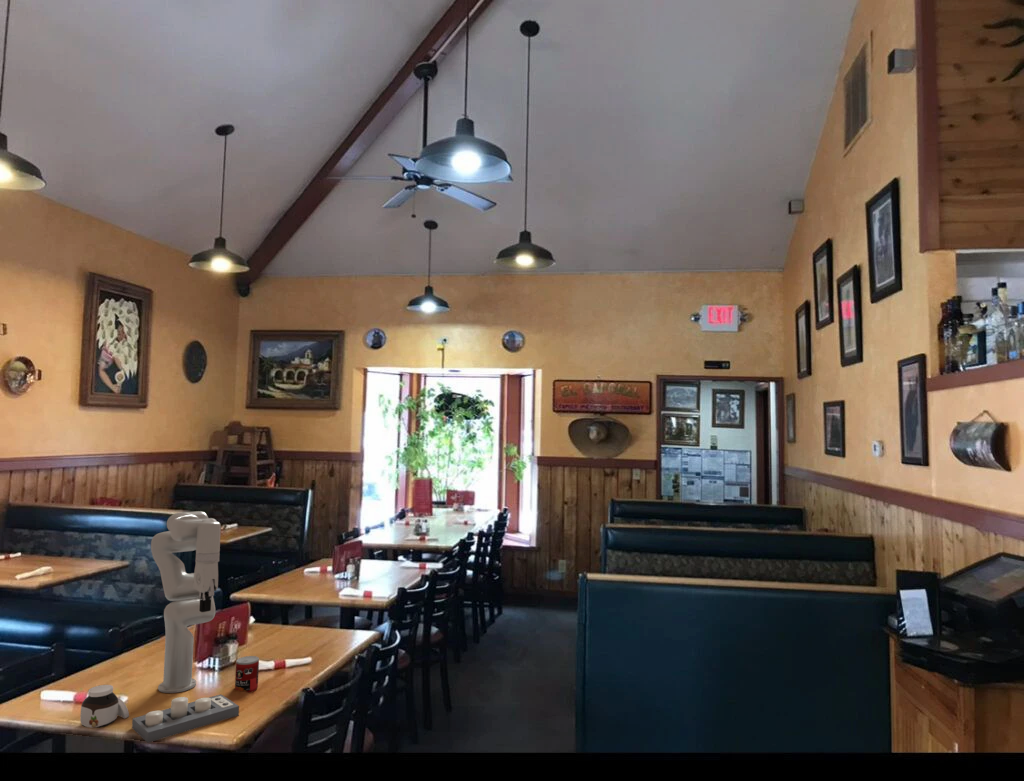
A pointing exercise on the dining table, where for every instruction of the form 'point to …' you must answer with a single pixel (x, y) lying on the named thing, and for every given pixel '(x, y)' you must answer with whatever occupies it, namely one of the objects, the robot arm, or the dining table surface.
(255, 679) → the canned food
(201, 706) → the button
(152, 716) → the button
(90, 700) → the spread jar
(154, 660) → the dining table surface
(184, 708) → the button
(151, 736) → the board
